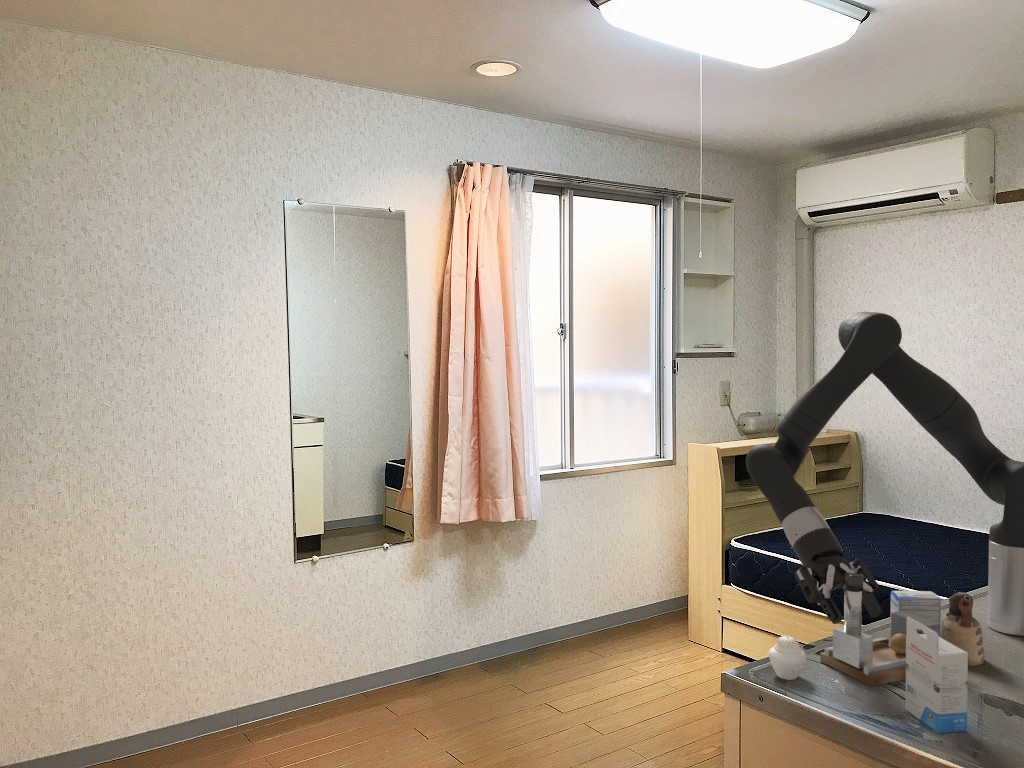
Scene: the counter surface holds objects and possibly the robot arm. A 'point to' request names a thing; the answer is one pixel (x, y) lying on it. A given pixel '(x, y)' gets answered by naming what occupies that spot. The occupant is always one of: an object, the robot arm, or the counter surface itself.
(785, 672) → the muffin
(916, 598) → the medicine box
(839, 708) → the counter surface
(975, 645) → the figurine
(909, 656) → the ink box
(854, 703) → the counter surface
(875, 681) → the wooden tray with rails
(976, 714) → the counter surface
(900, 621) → the grey metal frame
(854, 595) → the press handle
